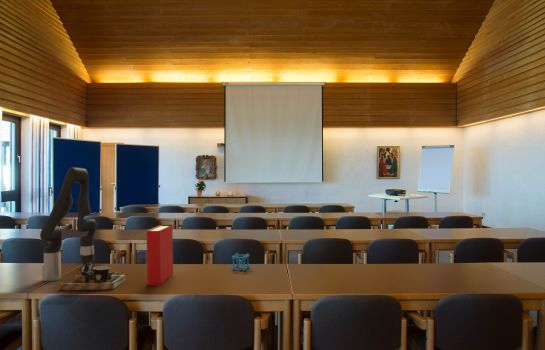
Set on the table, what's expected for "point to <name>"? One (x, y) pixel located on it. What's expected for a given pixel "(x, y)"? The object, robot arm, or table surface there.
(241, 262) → the molecular structure
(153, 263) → the book
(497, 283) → the table surface
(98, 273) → the coffee mug
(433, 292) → the table surface
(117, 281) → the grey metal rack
